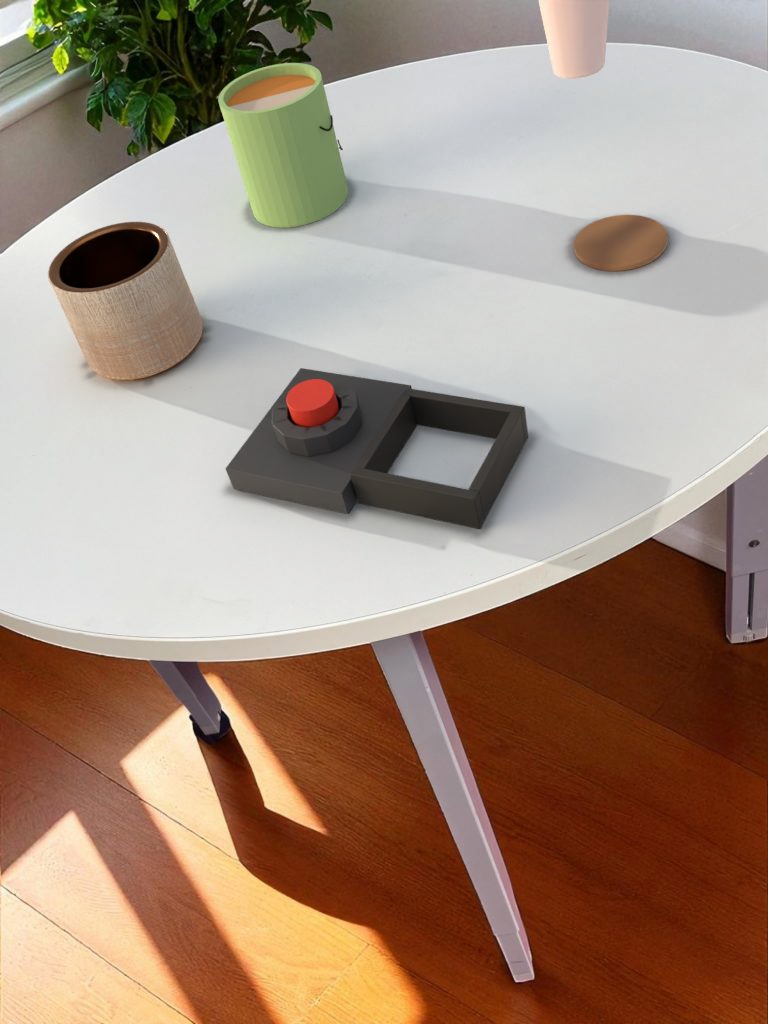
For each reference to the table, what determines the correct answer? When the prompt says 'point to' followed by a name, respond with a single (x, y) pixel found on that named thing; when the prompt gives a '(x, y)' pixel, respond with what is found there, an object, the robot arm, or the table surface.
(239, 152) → the mug
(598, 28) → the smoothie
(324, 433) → the button base
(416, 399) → the frame
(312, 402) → the stop button
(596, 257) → the coaster
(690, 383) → the table surface
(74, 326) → the planter
